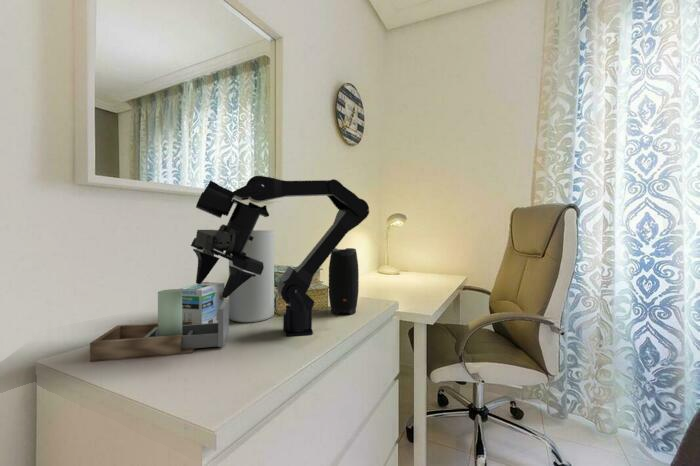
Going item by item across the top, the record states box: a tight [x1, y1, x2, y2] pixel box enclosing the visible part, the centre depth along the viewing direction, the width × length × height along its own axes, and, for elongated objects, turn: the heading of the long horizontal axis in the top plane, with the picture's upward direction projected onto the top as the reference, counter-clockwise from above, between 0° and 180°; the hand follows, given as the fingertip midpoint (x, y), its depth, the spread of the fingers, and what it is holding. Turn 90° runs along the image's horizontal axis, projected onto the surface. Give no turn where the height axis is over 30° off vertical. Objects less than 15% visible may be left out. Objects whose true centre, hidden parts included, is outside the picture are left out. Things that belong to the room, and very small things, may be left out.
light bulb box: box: [179, 281, 225, 324], centre depth 82 cm, size 11×7×11 cm, turn 172°
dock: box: [89, 321, 196, 363], centre depth 68 cm, size 18×11×4 cm, turn 104°
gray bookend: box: [145, 298, 230, 349], centre depth 69 cm, size 16×10×8 cm, turn 104°
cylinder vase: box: [228, 229, 275, 323], centre depth 91 cm, size 12×12×25 cm
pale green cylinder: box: [157, 288, 182, 337], centre depth 68 cm, size 5×5×11 cm
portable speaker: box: [328, 247, 360, 316], centre depth 97 cm, size 9×9×20 cm
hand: (210, 290), depth 70 cm, fingers open, 9 cm apart
